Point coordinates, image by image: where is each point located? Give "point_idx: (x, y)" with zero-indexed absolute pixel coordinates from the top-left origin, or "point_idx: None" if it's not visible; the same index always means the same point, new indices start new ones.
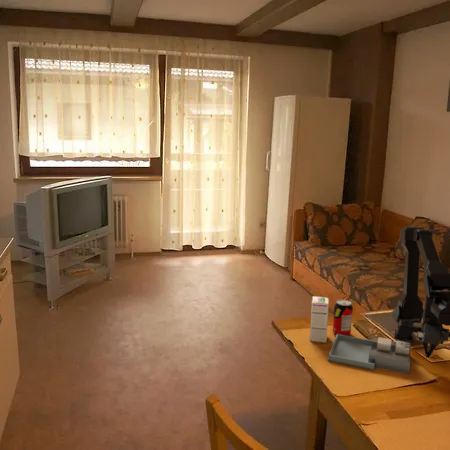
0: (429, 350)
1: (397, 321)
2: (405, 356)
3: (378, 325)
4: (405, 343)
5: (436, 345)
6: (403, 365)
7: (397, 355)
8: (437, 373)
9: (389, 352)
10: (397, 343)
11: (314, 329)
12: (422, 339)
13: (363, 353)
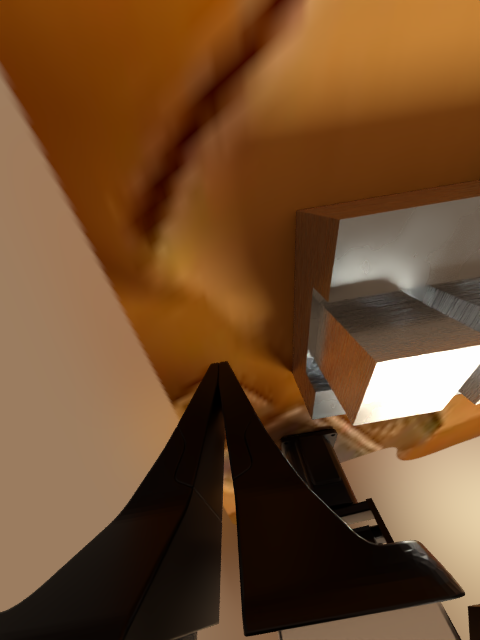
0: (210, 412)
1: (371, 504)
2: (351, 312)
3: (368, 449)
4: (388, 407)
5: (130, 507)
6: (365, 206)
7: (419, 283)
8: (162, 309)
9: (461, 297)
10: (456, 382)
11: None
12: (368, 616)
13: None
